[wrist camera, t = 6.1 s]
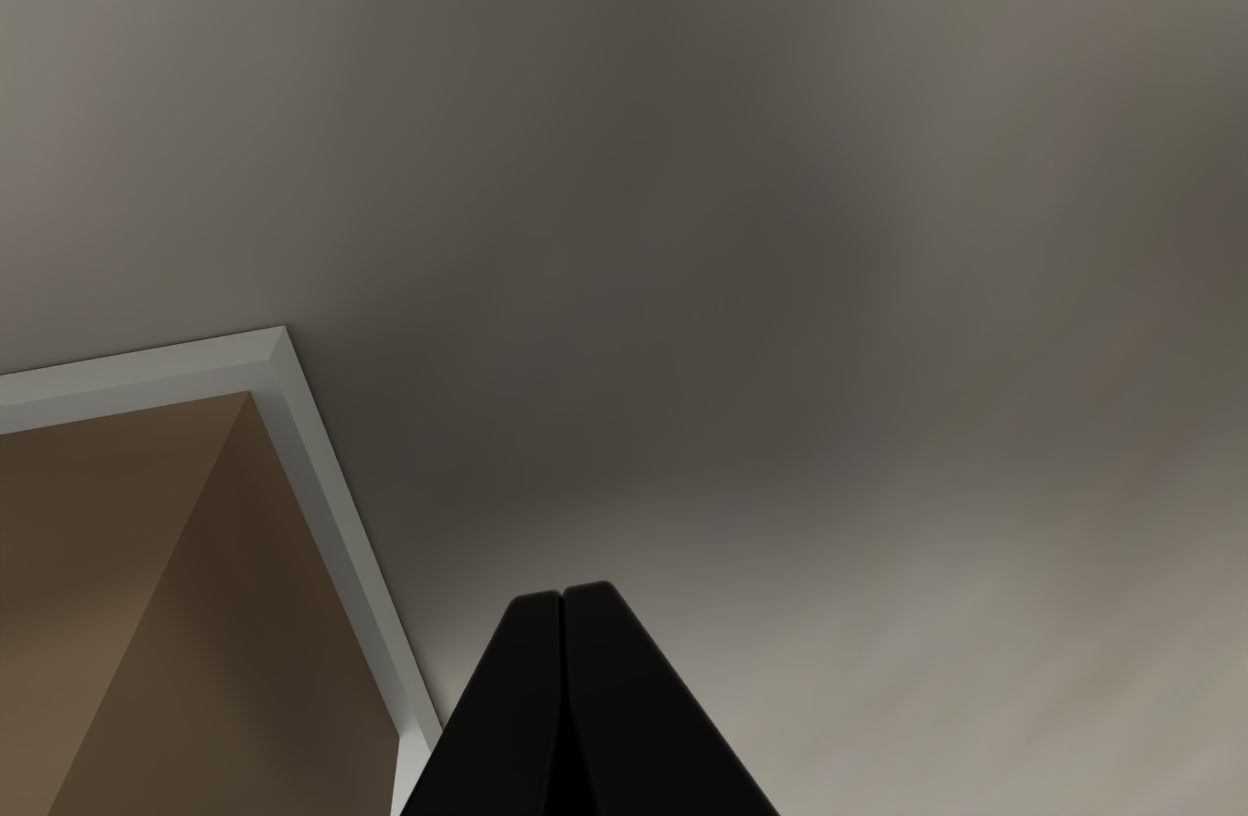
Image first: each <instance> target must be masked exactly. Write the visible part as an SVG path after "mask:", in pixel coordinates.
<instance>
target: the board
mask: <svg viewBox="0 0 1248 816" xmlns="http://www.w3.org/2000/svg"><path fill="white" fill-rule="evenodd" d="M249 390H250V392H251V395H252V397H253V399H254V402H255V404H256V406H257V409H258V411H259V413H260V416H261V418H262V420H263V423H264V425H265V427H266V429H267V432H268V434H269V436H270V439H271V441H272V443H273V446H274V448H275V450H276V453H277V455H278V457H279V460H280V462H281V464H282V466H283V469H284V471H285V473H286V476H287V478H288V480H289V483H290V485H291V487H292V490H293V492H294V494H295V497H296V499H297V501H298V503H299V506H300V508H301V510H302V513H303V515H304V517H305V520H306V522H307V524H308V527H309V529H310V531H311V533H312V536H313V538H314V540H315V543H316V545H317V547H318V550H319V552H320V554H321V557H322V559H323V561H324V564H325V566H326V568H327V570H328V573H329V575H330V577H331V580H332V582H333V584H334V587H335V589H336V591H337V594H338V596H339V598H340V601H341V603H342V605H343V607H344V610H345V612H346V614H347V617H348V619H349V621H350V624H351V626H352V628H353V631H354V633H355V635H356V638H357V640H358V642H359V644H360V647H361V649H362V651H363V654H364V656H365V658H366V661H367V663H368V665H369V668H370V670H371V672H372V675H373V677H374V679H375V681H376V684H377V686H378V688H379V691H380V693H381V695H382V698H383V700H384V702H385V705H386V707H387V709H388V711H389V714H390V716H391V718H392V721H393V723H394V725H395V728H396V730H397V732H398V735H399V737H400V741H399V749H398V758H397V766H396V774H395V783H394V791H393V799H392V807H391V816H399V815H400V813H401V811H402V809H403V808H404V806H405V804H406V802H407V800H408V798H409V796H410V794H411V792H412V790H413V788H414V786H415V784H416V782H417V781H418V779H419V777H420V775H421V773H422V771H423V769H424V767H425V765H426V763H427V761H428V759H429V757H430V756H431V754H432V752H433V750H434V748H435V746H436V744H437V742H438V740H439V738H440V736H441V734H442V732H443V731H442V728H441V726H440V723H439V720H438V718H437V715H436V713H435V710H434V708H433V705H432V702H431V700H430V697H429V695H428V692H427V690H426V687H425V684H424V682H423V679H422V677H421V674H420V672H419V669H418V666H417V664H416V661H415V659H414V656H413V654H412V651H411V648H410V646H409V643H408V641H407V638H406V636H405V633H404V631H403V628H402V625H401V623H400V620H399V618H398V615H397V613H396V610H395V607H394V605H393V602H392V600H391V597H390V595H389V592H388V589H387V587H386V584H385V582H384V579H383V577H382V574H381V571H380V569H379V566H378V564H377V561H376V559H375V556H374V553H373V551H372V548H371V546H370V543H369V541H368V538H367V535H366V533H365V530H364V528H363V525H362V523H361V520H360V518H359V515H358V512H357V510H356V507H355V505H354V502H353V500H352V497H351V494H350V492H349V489H348V487H347V484H346V482H345V479H344V476H343V474H342V471H341V469H340V466H339V464H338V461H337V458H336V456H335V453H334V451H333V448H332V446H331V443H330V440H329V438H328V435H327V433H326V430H325V428H324V425H323V423H322V420H321V417H320V415H319V412H318V410H317V407H316V405H315V402H314V399H313V397H312V394H311V392H310V389H309V387H308V384H307V381H306V379H305V376H304V374H303V371H302V369H301V366H300V363H299V361H298V358H297V356H296V353H295V351H294V348H293V345H292V343H291V340H290V338H289V335H288V333H287V330H286V328H285V325H284V326H278V327H273V328H267V329H261V330H256V331H250V332H244V333H239V334H233V335H227V336H222V337H216V338H210V339H205V340H199V341H193V342H188V343H182V344H176V345H171V346H165V347H159V348H154V349H148V350H142V351H137V352H131V353H125V354H120V355H114V356H108V357H103V358H97V359H91V360H86V361H80V362H74V363H69V364H63V365H57V366H52V367H46V368H40V369H35V370H29V371H23V372H18V373H12V374H6V375H1V376H0V435H1V434H7V433H13V432H18V431H24V430H29V429H35V428H41V427H46V426H52V425H58V424H63V423H69V422H74V421H80V420H86V419H91V418H97V417H103V416H108V415H114V414H119V413H125V412H131V411H136V410H142V409H148V408H153V407H159V406H164V405H170V404H176V403H181V402H187V401H193V400H198V399H204V398H209V397H215V396H221V395H226V394H232V393H238V392H243V391H249Z"/></svg>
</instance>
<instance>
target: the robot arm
mask: <svg viewBox="0 0 1248 816" xmlns="http://www.w3.org/2000/svg"><path fill="white" fill-rule="evenodd" d="M399 816H780V814H779V813H778V812H777V810H776V809H775V808H774V806H773V805H772V803H771V802H770V801H769V799H768V798H767V797H766V795H765V794H764V792H763V791H762V790H761V788H760V787H759V785H758V784H757V783H756V781H755V780H754V779H753V777H752V776H751V774H750V773H749V772H748V770H747V769H746V767H745V766H744V765H743V763H742V762H741V761H740V759H739V758H738V756H737V755H736V754H735V752H734V751H733V750H732V748H731V747H730V745H729V744H728V743H727V741H726V740H725V738H724V737H723V736H722V734H721V733H720V732H719V730H718V729H717V727H716V726H715V725H714V723H713V722H712V720H711V719H710V718H709V716H708V715H707V714H706V712H705V711H704V709H703V708H702V707H701V705H700V704H699V702H698V701H697V700H696V698H695V697H694V696H693V694H692V693H691V691H690V690H689V689H688V687H687V686H686V685H685V683H684V682H683V680H682V679H681V678H680V676H679V675H678V673H677V672H676V671H675V669H674V668H673V667H672V665H671V664H670V662H669V661H668V660H667V658H666V657H665V655H664V654H663V653H662V651H661V650H660V649H659V647H658V646H657V644H656V643H655V642H654V640H653V639H652V638H651V636H650V635H649V633H648V632H647V631H646V629H645V628H644V626H643V625H642V624H641V622H640V621H639V620H638V618H637V617H636V615H635V614H634V613H633V611H632V610H631V608H630V607H629V606H628V604H627V603H626V602H625V600H624V599H623V597H622V596H621V595H620V593H619V592H618V590H617V589H616V588H615V586H614V585H613V584H611V583H610V582H608V581H597V582H592V583H586V584H580V585H575V586H570V587H567V588H566V589H565V590H564V593H563V596H562V594H561V593H560V592H559V591H557V590H547V591H541V592H536V593H530V594H525V595H519V596H517V597H515V598H514V599H512V601H511V602H510V603H509V605H508V607H507V609H506V611H505V613H504V615H503V617H502V619H501V621H500V622H499V624H498V626H497V628H496V630H495V632H494V634H493V636H492V638H491V640H490V642H489V644H488V646H487V648H486V649H485V651H484V653H483V655H482V657H481V659H480V661H479V663H478V665H477V667H476V669H475V671H474V673H473V675H472V676H471V678H470V680H469V682H468V684H467V686H466V688H465V690H464V692H463V694H462V696H461V698H460V700H459V702H458V703H457V705H456V707H455V709H454V711H453V713H452V715H451V717H450V719H449V721H448V723H447V725H446V727H445V729H444V730H443V732H442V734H441V736H440V738H439V740H438V742H437V744H436V746H435V748H434V750H433V752H432V754H431V756H430V757H429V759H428V761H427V763H426V765H425V767H424V769H423V771H422V773H421V775H420V777H419V779H418V781H417V782H416V784H415V786H414V788H413V790H412V792H411V794H410V796H409V798H408V800H407V802H406V804H405V806H404V808H403V809H402V811H401V813H400V815H399Z"/></svg>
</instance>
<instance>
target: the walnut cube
mask: <svg viewBox="0 0 1248 816" xmlns="http://www.w3.org/2000/svg"><path fill="white" fill-rule="evenodd" d="M399 741H400V737H399V735H398V732H397V730H396V728H395V725H394V723H393V721H392V718H391V716H390V714H389V711H388V709H387V707H386V705H385V702H384V700H383V698H382V695H381V693H380V691H379V688H378V686H377V684H376V681H375V679H374V677H373V675H372V672H371V670H370V668H369V665H368V663H367V661H366V658H365V656H364V654H363V651H362V649H361V647H360V644H359V642H358V640H357V638H356V635H355V633H354V631H353V628H352V626H351V624H350V621H349V619H348V617H347V614H346V612H345V610H344V607H343V605H342V603H341V601H340V598H339V596H338V594H337V591H336V589H335V587H334V584H333V582H332V580H331V577H330V575H329V573H328V570H327V568H326V566H325V564H324V561H323V559H322V557H321V554H320V552H319V550H318V547H317V545H316V543H315V540H314V538H313V536H312V533H311V531H310V529H309V527H308V524H307V522H306V520H305V517H304V515H303V513H302V510H301V508H300V506H299V503H298V501H297V499H296V497H295V494H294V492H293V490H292V487H291V485H290V483H289V480H288V478H287V476H286V473H285V471H284V469H283V466H282V464H281V462H280V460H279V457H278V455H277V453H276V450H275V448H274V446H273V443H272V441H271V439H270V436H269V434H268V432H267V429H266V427H265V425H264V423H263V420H262V418H261V416H260V413H259V411H258V409H257V406H256V404H255V402H254V399H253V397H252V395H251V392H250V390H249V391H243V392H238V393H232V394H226V395H221V396H215V397H209V398H204V399H198V400H193V401H187V402H181V403H176V404H170V405H164V406H159V407H153V408H148V409H142V410H136V411H131V412H125V413H119V414H114V415H108V416H103V417H97V418H91V419H86V420H80V421H74V422H69V423H63V424H58V425H52V426H46V427H41V428H35V429H29V430H24V431H18V432H13V433H7V434H1V435H0V816H391V807H392V799H393V791H394V783H395V774H396V766H397V758H398V749H399Z"/></svg>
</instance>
